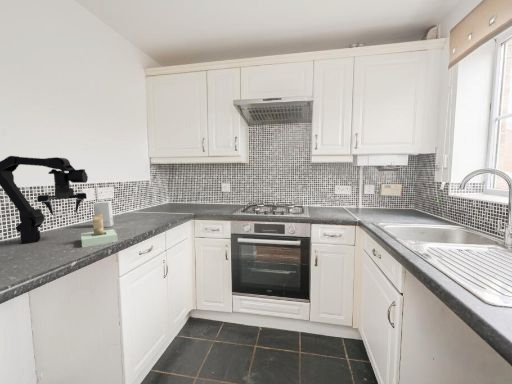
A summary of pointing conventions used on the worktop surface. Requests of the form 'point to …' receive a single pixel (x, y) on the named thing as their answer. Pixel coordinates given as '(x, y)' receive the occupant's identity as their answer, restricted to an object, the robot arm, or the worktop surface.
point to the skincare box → (104, 212)
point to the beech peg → (98, 224)
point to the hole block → (98, 238)
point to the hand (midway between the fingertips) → (64, 214)
